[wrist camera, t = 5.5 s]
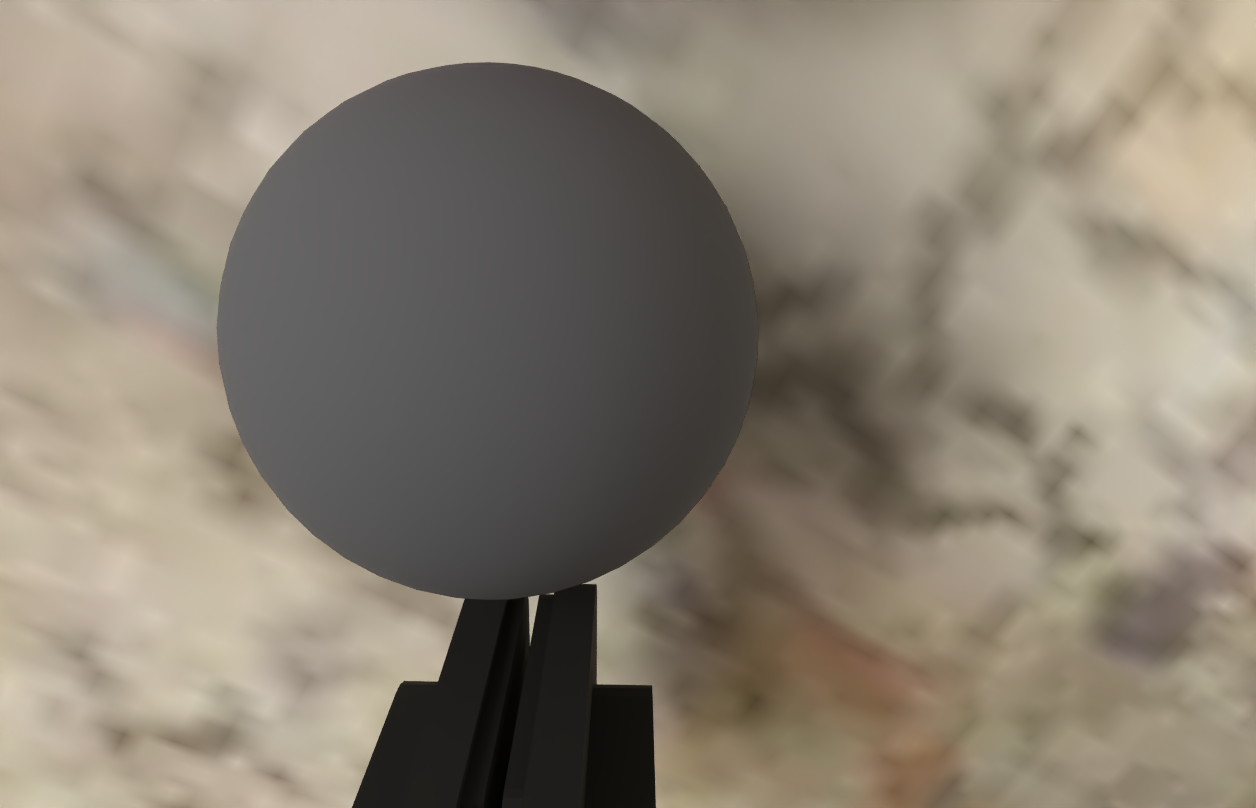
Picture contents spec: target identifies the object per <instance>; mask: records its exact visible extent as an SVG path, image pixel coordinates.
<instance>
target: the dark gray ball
mask: <svg viewBox="0 0 1256 808" xmlns="http://www.w3.org/2000/svg"><path fill="white" fill-rule="evenodd" d="M217 338H218V352H219V364H220V369H221V373H222V378H223V382H224V387H225V391H226V396H227V400H228V404H229V408H230V412H231V414H232V417H233V419H234V422H235V424H236V427H237V430H238V432H239V435H240V437H241V440H242V443H243V445H244V446H245V448H246V450H247V452H248V453H249V455H250V457H251V459H252V461H253V462H254V464H255V466H256V468H257V469H258V471H259V473H260V475H261V476H262V477H263V479H264V480H265V481H266V483H267V484H268V485H269V487H270V488H271V489H272V490H273V492H274V493H275V494H276V496H277V497H278V498H279V499H280V501H281V502H282V503H283V505H284V506H285V507H286V508H287V510H288V511H289V512H290V513H291V514H292V515H293V516H294V517H295V518H297V519H298V520H299V521H300V522H301V523H302V524H303V525H304V526H305V527H306V528H307V529H308V530H309V531H310V532H311V533H312V534H313V535H314V536H316V537H317V538H318V539H320V540H321V541H322V542H324V543H325V544H327V545H328V546H329V547H331V548H332V549H333V550H335V551H336V552H337V553H339V554H340V555H342V556H343V557H345V558H346V559H348V560H350V561H352V562H353V563H355V564H357V565H359V566H361V567H363V568H365V569H367V570H368V571H370V572H372V573H374V574H376V575H378V576H380V577H383V578H386V579H388V580H391V581H394V582H397V583H399V584H402V585H405V586H408V587H410V588H413V589H416V590H420V591H425V592H430V593H435V594H440V595H445V596H449V597H455V598H464V599H482V600H504V599H517V598H523V597H530V596H536V595H542V594H549V593H554V592H557V591H560V590H563V589H567V588H570V587H573V586H576V585H580V584H583V583H586V582H589V581H591V580H593V579H595V578H598V577H600V576H602V575H604V574H606V573H608V572H610V571H613V570H615V569H617V568H619V567H621V566H623V565H624V564H626V563H627V562H629V561H630V560H632V559H633V558H635V557H637V556H638V555H640V554H641V553H643V552H644V551H646V550H647V549H649V548H650V547H652V546H653V545H655V544H656V543H657V542H658V541H659V540H660V539H662V538H663V537H664V536H665V535H666V534H667V533H669V532H670V531H671V530H672V529H673V528H674V527H676V526H677V525H678V524H679V523H680V522H681V521H682V520H683V518H684V517H685V516H686V515H687V514H688V513H689V512H690V511H691V509H692V508H693V507H694V506H695V505H696V504H697V503H698V502H699V500H700V499H701V498H702V497H703V495H704V494H705V493H706V491H707V490H708V488H709V487H710V485H711V484H712V482H713V481H714V479H715V478H716V476H717V475H718V473H719V472H720V470H721V469H722V467H723V466H724V464H725V462H726V460H727V458H728V456H729V454H730V452H731V450H732V448H733V446H734V444H735V442H736V439H737V437H738V435H739V433H740V429H741V426H742V423H743V420H744V417H745V414H746V411H747V408H748V405H749V401H750V397H751V393H752V387H753V382H754V376H755V370H756V365H757V354H758V319H757V310H756V301H755V292H754V284H753V279H752V275H751V271H750V267H749V263H748V260H747V256H746V252H745V249H744V247H743V244H742V242H741V240H740V237H739V235H738V233H737V230H736V228H735V226H734V223H733V221H732V219H731V216H730V214H729V212H728V209H727V207H726V205H725V204H724V202H723V201H722V199H721V197H720V196H719V194H718V193H717V191H716V189H715V188H714V186H713V185H712V183H711V181H710V180H709V179H708V177H707V176H706V175H705V173H704V172H703V170H702V169H701V168H700V166H699V165H698V164H697V163H696V162H695V161H694V159H693V158H692V157H691V156H690V155H689V154H688V153H687V152H686V150H685V149H684V148H683V147H682V146H681V145H680V144H679V143H678V142H677V141H676V140H675V139H674V138H673V137H672V136H671V135H670V134H669V133H668V132H667V131H665V130H664V129H663V128H661V127H660V126H659V125H658V124H656V123H655V122H654V121H652V120H651V119H650V118H648V117H647V116H646V115H644V114H643V113H642V112H640V111H639V110H638V109H636V108H635V107H633V106H632V105H631V104H629V103H627V102H625V101H624V100H622V99H620V98H618V97H617V96H615V95H613V94H611V93H609V92H606V91H604V90H602V89H600V88H597V87H595V86H593V85H590V84H588V83H586V82H583V81H581V80H579V79H576V78H573V77H570V76H567V75H564V74H561V73H558V72H554V71H550V70H546V69H541V68H537V67H531V66H524V65H518V64H508V63H491V62H486V63H463V64H455V65H446V66H441V67H436V68H431V69H426V70H422V71H417V72H412V73H408V74H405V75H402V76H399V77H396V78H393V79H390V80H387V81H385V82H383V83H381V84H379V85H377V86H375V87H373V88H371V89H369V90H367V91H364V92H362V93H360V94H358V95H356V96H354V97H352V98H350V99H348V100H346V101H344V102H343V103H341V104H340V105H339V106H337V107H336V108H334V109H333V110H332V111H330V112H329V113H327V114H326V115H325V116H323V117H322V118H321V119H320V120H318V121H317V122H316V123H314V124H313V125H312V126H310V127H309V128H308V129H307V130H305V131H304V132H303V133H302V134H301V135H300V136H299V137H298V138H297V139H296V141H295V142H294V143H293V144H292V145H291V146H290V147H289V148H288V149H287V150H286V151H285V153H284V154H283V155H282V156H281V157H280V158H279V159H278V160H277V161H276V163H275V164H274V165H273V166H272V167H271V168H270V169H269V171H268V173H267V174H266V176H265V177H264V179H263V181H262V182H261V184H260V185H259V187H258V188H257V190H256V192H255V193H254V195H253V196H252V198H251V200H250V202H249V204H248V205H247V207H246V209H245V211H244V213H243V215H242V217H241V220H240V222H239V225H238V227H237V229H236V232H235V234H234V237H233V239H232V241H231V244H230V248H229V252H228V256H227V260H226V264H225V269H224V273H223V277H222V282H221V288H220V294H219V306H218V318H217Z"/></svg>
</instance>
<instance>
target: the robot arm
mask: <svg viewBox="0 0 1256 808" xmlns="http://www.w3.org/2000/svg"><path fill="white" fill-rule="evenodd" d="M352 808H656V799H655V765H654V730H653V696H652V685H597V585H596V584H580V585H576V586H573V587H570V588H567V589H563V590H560V591H557V592H554V595H551V594H542V595H539V600H538V605H537V611H536V616H535V622H534V627H533V633H532V638H531V644H530V634H529V600H528V597H523V598H517V599H504V600H482V599H465V600H464V603H463V606H462V609H461V612H460V615H459V618H458V622H457V625H456V628H455V631H454V634H453V637H452V640H451V643H450V646H449V649H448V653H447V656H446V659H445V662H444V665H443V668H442V671H441V674H440V677H439V680H438V682H424V681H404V682H403V683H401V684H400V686H399V688H398V690H397V692H396V694H395V697H394V700H393V702H392V705H391V707H390V710H389V713H388V715H387V718H386V720H385V723H384V726H383V728H382V731H381V733H380V736H379V739H378V741H377V744H376V747H375V749H374V752H373V754H372V757H371V760H370V762H369V765H368V767H367V770H366V773H365V775H364V778H363V780H362V783H361V786H360V788H359V791H358V793H357V796H356V799H355V801H354V804H353V806H352Z"/></svg>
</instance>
